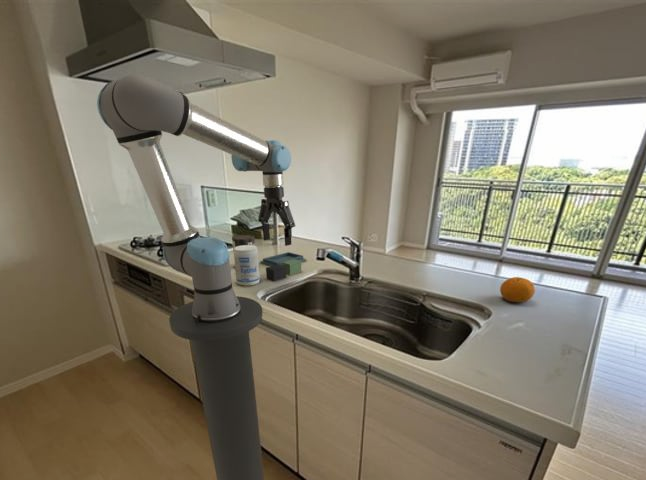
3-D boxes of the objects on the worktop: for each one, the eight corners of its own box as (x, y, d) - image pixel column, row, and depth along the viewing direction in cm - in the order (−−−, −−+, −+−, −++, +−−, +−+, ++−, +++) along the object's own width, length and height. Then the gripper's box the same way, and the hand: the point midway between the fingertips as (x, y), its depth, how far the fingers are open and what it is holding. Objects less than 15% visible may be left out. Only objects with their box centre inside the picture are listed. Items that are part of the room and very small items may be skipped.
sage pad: (290, 275, 148) (289, 264, 146) (282, 273, 151) (282, 262, 149) (301, 271, 153) (301, 261, 150) (294, 269, 156) (293, 259, 154)
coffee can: (261, 266, 162) (258, 236, 156) (243, 270, 155) (240, 240, 149) (247, 262, 168) (245, 233, 162) (230, 266, 161) (227, 237, 155)
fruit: (491, 297, 123) (496, 276, 119) (513, 293, 126) (518, 272, 122) (515, 307, 114) (521, 285, 110) (538, 303, 117) (545, 281, 113)
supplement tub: (242, 288, 134) (238, 251, 128) (233, 281, 141) (229, 247, 135) (264, 283, 139) (261, 248, 133) (254, 277, 146) (251, 243, 140)
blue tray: (279, 268, 157) (278, 263, 156) (260, 263, 166) (260, 258, 165) (306, 260, 169) (306, 256, 167) (287, 256, 177) (287, 251, 176)
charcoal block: (274, 281, 141) (273, 270, 139) (266, 278, 144) (265, 267, 142) (286, 277, 146) (286, 266, 143) (279, 275, 149) (278, 264, 147)
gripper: (303, 187, 122) (305, 245, 131) (261, 184, 138) (265, 236, 147) (287, 189, 117) (290, 249, 126) (246, 185, 133) (251, 239, 142)
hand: (277, 242), depth 137 cm, fingers open, 13 cm apart
